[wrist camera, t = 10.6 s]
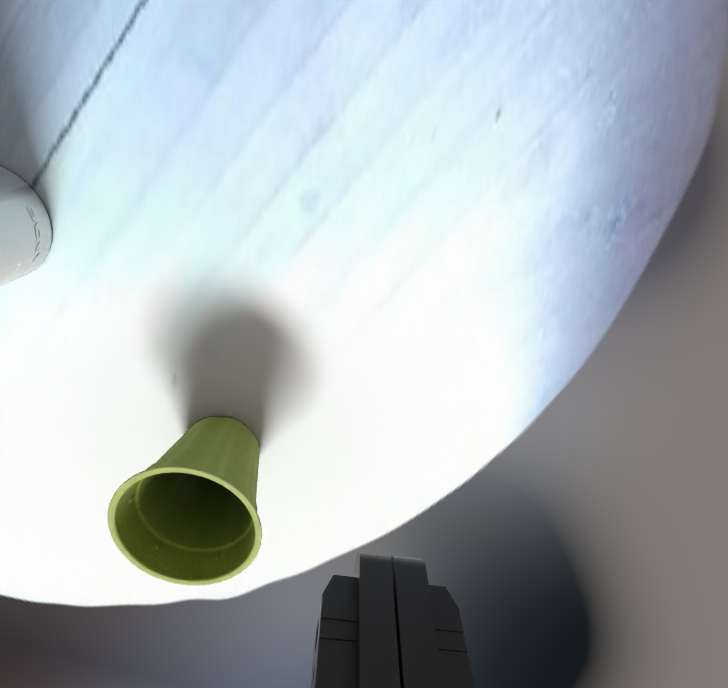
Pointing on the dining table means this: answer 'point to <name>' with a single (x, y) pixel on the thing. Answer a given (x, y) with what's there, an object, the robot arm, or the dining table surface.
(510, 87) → the dining table surface
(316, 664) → the robot arm
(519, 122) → the dining table surface
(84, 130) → the dining table surface
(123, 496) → the plant pot
